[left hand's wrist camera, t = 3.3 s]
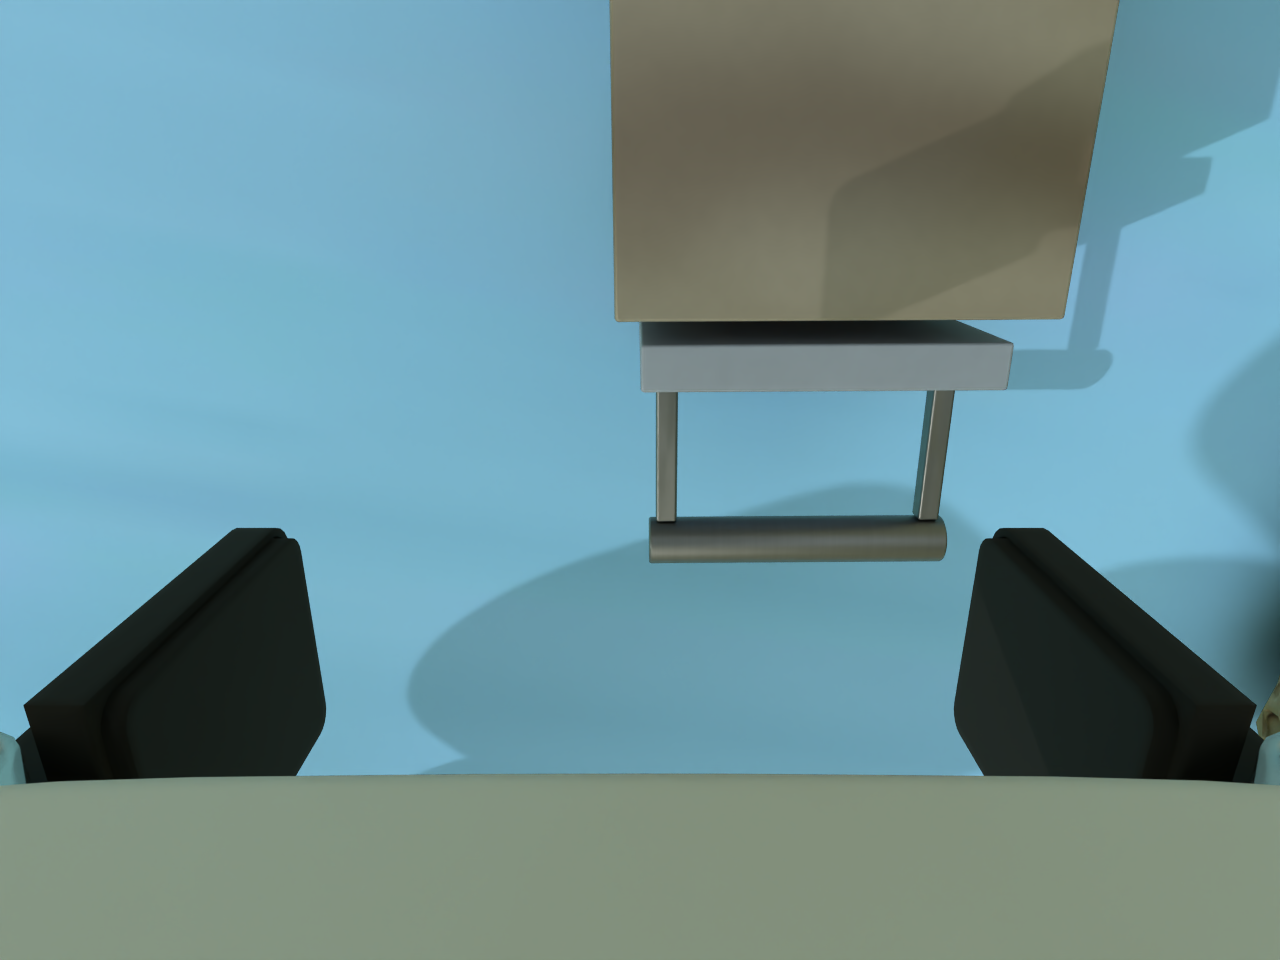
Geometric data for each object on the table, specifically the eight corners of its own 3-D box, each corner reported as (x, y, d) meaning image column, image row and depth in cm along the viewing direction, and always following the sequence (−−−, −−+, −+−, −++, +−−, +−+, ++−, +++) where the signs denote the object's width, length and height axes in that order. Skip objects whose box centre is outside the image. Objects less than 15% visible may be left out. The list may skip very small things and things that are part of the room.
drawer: (881, 484, 30) (975, 596, 22) (640, 485, 30) (642, 599, 22) (965, -319, 22) (1168, -634, 14) (635, -318, 22) (635, -632, 14)
